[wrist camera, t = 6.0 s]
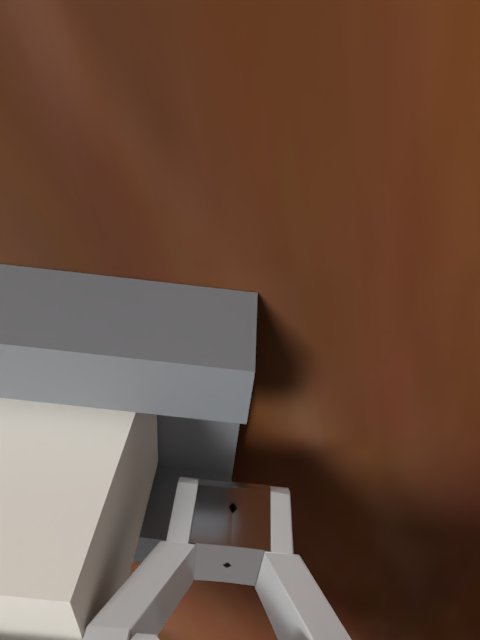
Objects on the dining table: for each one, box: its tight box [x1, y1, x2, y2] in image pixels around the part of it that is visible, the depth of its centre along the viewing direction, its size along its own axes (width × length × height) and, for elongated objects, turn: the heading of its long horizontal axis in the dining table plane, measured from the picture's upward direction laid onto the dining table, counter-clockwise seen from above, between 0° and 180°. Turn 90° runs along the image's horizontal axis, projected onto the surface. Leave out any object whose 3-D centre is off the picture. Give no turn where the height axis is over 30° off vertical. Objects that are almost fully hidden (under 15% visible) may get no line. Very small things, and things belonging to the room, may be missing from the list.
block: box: [0, 398, 158, 640], centre depth 10 cm, size 6×5×6 cm
